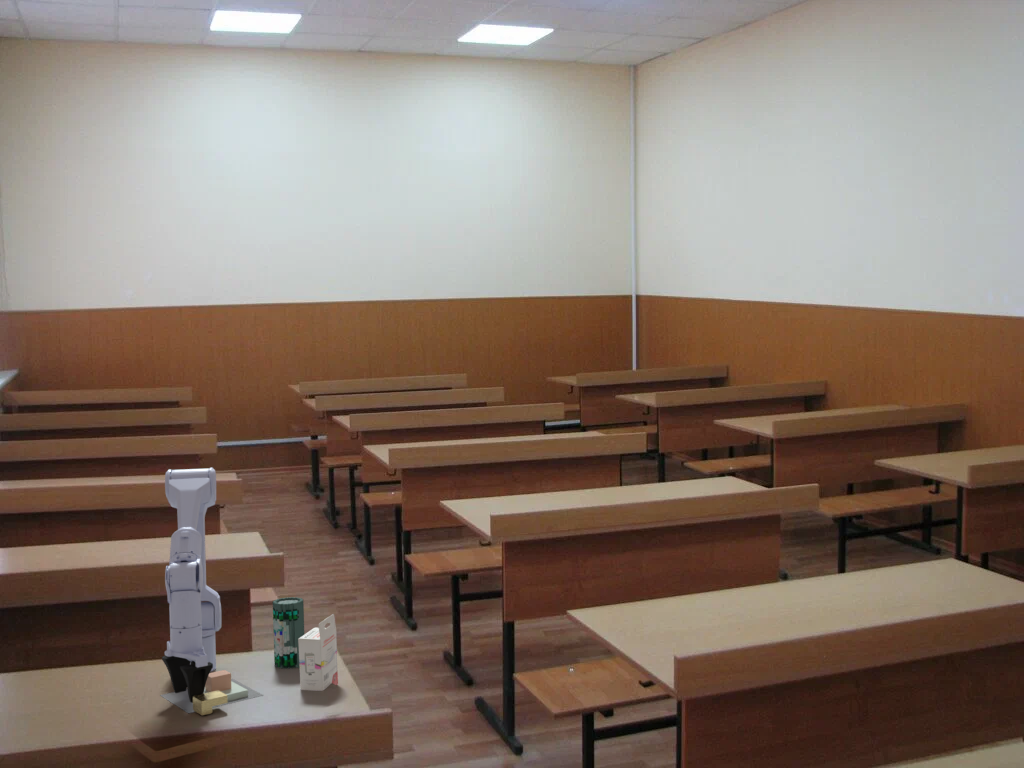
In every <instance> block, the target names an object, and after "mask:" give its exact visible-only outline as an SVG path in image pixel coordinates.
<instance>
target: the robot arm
mask: <svg viewBox="0 0 1024 768" xmlns="http://www.w3.org/2000/svg"><path fill="white" fill-rule="evenodd" d="M216 472H217V471H216V469H214V467H213V466H212V467H209V468H189V469H188V468H187V469H185V468H183V469H170V468H169V469H168V470H167V471H165V475H164V492H165V493H164V494H165V497H166V499H167V501H168V504H170V507H172V508H174V509H176V510H177V511H176V512H177V514H176V515H177V530H176V531H174V532H173V533H172V535H170V536H171V537H170V548H169V549H170V550H169V551H170V552H169V563H168V565H166V566H165V569H164V573H165V574H164V584H165V590H166V595H167V596H166V597H167V604H169V605H168V606H169V608H168V609H169V634H170V635H169V637H170V638H169V639H170V640H168V641H166V650H165V651H164V656H162V657H161V660H162V662H163V664H164V665H165V666H166V667H165V668H166V669H167V671H168V674H169V676H170V677H169V679H170V681H171V685H172V688H173V692H175V693H179V692H184V691H186V689H188V696H189V700H190V702H191V703H193V696H195V695H200V694H204V689H205V685H206V681H207V678H208V675H209V673H212V672H215V670H216V669H217V653H216V652H217V650H216V649H217V648H216V632H219V631H220V630H221V628H222V604H221V596H220V595H219V593H218V591H216V590H214V589H213V588H211V587H210V586H208V585H207V565H206V564H207V561H206V521H205V519H206V518H205V517H206V513H207V511H208V508H210V507H213V506H215V505H216V502H217V473H216Z"/></svg>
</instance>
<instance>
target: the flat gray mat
mask: <svg viewBox="0 0 1024 768" xmlns="http://www.w3.org/2000/svg"><path fill="white" fill-rule="evenodd" d="M231 681H232V682H234V683H236V684H238V685H239V686H241V687H243V688H245V689H247V690H248V696H247V697H243V698H239V699H234V700H230V701H228V703H225V704H220V705H216V706H212V709H213V708H217V707H222V706H226V705H230V704H234V703H239V702H242V701H247V700H250V699H253V698H259V697H263V696H264V694H262V693H260V692H258V691H257V690H255V689H253V688H251V687H249V686H247V685H246V684H243V683H241V682H239V681H238V680H235V679H234V678H231ZM159 696H160V697H162V698H163V699H165V700H167V701H168V702H170V703H171V704H173V705H174V706H176V707H177V708H179V709H181V710H182V711H184V712H185V713H187V714H194V713H196V712H195V711H194V710H193V703H191V702H190V700H189V696H188V689H186V691H184V692H179V693H175V692H174V691H172V692H167V693H164V694H160V695H159Z"/></svg>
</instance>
